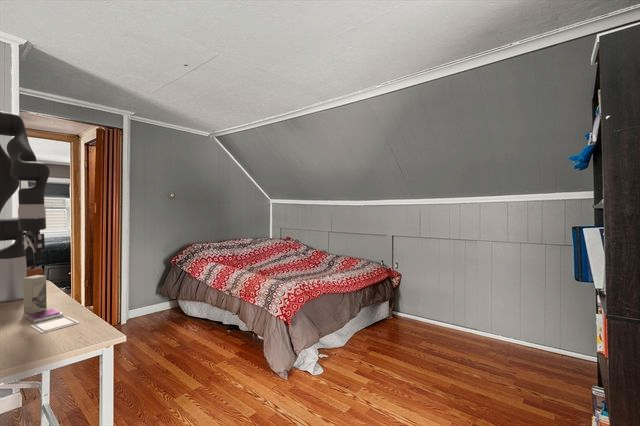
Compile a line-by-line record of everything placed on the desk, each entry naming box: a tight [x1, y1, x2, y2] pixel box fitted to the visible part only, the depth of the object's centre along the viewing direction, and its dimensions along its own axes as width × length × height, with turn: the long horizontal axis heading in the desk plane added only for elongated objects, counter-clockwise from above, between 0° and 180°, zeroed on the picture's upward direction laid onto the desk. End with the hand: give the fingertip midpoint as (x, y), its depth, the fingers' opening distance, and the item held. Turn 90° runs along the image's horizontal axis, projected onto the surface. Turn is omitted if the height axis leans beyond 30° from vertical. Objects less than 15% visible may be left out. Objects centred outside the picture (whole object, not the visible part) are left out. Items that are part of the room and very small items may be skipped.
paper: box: [30, 315, 80, 334], centre depth 107 cm, size 10×10×1 cm
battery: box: [27, 266, 45, 277], centre depth 147 cm, size 4×7×10 cm, turn 144°
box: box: [22, 275, 48, 314], centre depth 119 cm, size 5×4×13 cm
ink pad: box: [25, 308, 64, 324], centre depth 114 cm, size 8×8×1 cm
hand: (33, 261), depth 119 cm, fingers open, 8 cm apart
